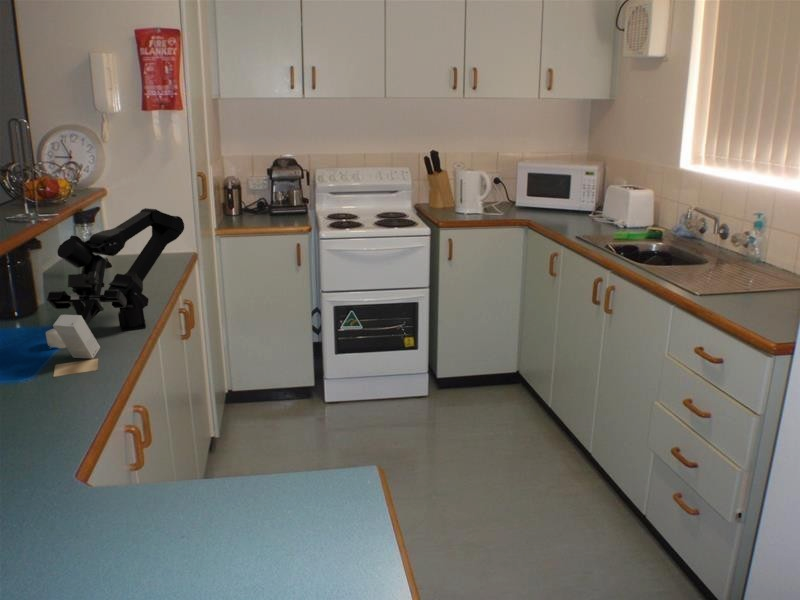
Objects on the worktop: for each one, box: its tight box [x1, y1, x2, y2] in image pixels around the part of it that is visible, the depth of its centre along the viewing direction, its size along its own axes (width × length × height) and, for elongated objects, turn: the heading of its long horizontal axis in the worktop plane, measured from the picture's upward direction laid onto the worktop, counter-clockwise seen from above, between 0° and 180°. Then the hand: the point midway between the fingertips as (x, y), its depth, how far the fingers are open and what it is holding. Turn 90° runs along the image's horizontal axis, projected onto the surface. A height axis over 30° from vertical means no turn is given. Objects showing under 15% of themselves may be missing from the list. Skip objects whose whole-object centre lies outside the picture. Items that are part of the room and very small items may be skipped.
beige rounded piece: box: [45, 327, 67, 350], centre depth 190 cm, size 6×6×4 cm
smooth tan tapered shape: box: [52, 358, 99, 378], centre depth 175 cm, size 10×8×1 cm
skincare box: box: [52, 314, 101, 360], centre depth 178 cm, size 6×4×12 cm
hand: (81, 328), depth 179 cm, fingers closed
